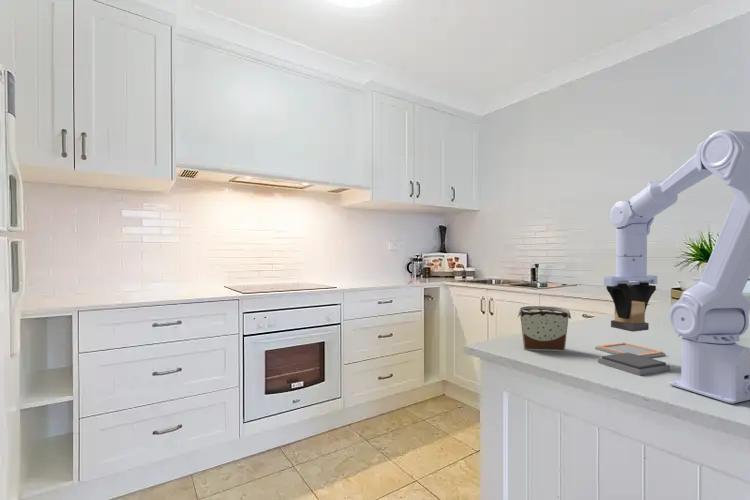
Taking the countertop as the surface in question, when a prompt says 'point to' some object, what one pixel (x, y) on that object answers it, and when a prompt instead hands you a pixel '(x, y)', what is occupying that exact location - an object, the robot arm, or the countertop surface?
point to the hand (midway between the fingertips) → (630, 317)
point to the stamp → (632, 319)
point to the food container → (544, 327)
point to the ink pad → (634, 363)
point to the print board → (630, 350)
